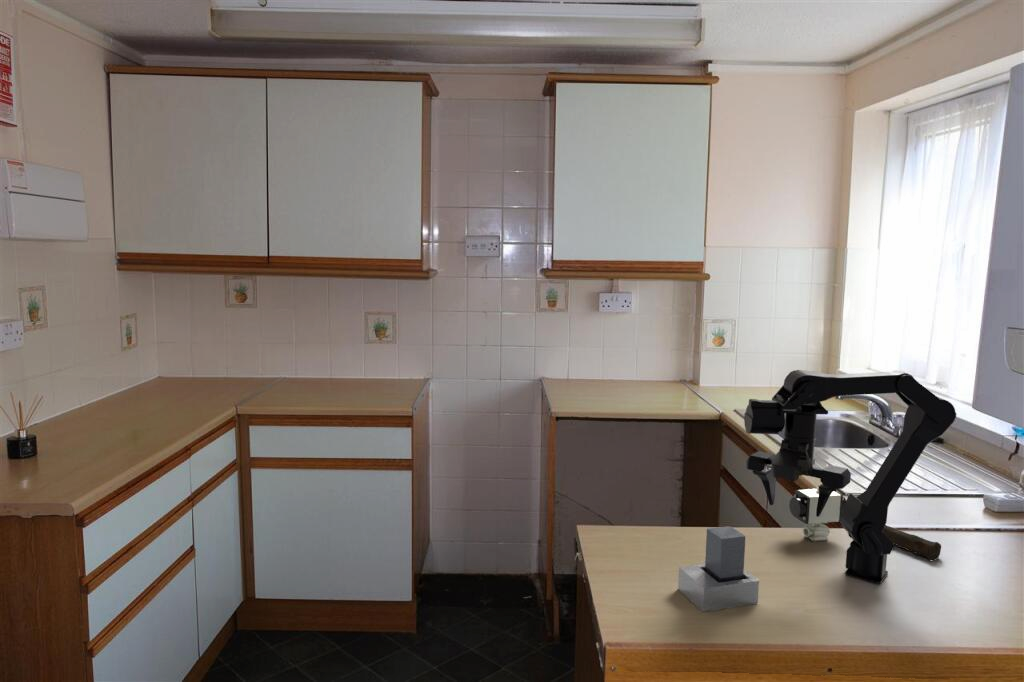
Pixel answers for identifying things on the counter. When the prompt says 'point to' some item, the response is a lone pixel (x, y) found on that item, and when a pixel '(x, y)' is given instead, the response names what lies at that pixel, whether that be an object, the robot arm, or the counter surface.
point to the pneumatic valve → (805, 511)
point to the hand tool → (913, 543)
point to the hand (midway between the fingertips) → (794, 510)
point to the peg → (725, 554)
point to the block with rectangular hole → (716, 589)
